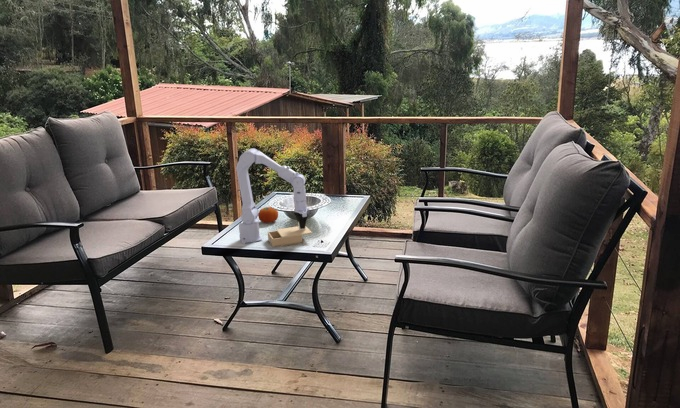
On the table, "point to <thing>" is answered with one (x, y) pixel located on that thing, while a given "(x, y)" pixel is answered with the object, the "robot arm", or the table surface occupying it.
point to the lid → (293, 231)
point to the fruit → (268, 215)
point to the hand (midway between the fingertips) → (302, 227)
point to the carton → (283, 239)
